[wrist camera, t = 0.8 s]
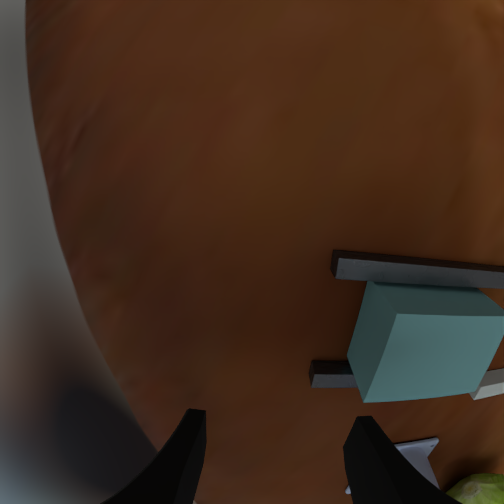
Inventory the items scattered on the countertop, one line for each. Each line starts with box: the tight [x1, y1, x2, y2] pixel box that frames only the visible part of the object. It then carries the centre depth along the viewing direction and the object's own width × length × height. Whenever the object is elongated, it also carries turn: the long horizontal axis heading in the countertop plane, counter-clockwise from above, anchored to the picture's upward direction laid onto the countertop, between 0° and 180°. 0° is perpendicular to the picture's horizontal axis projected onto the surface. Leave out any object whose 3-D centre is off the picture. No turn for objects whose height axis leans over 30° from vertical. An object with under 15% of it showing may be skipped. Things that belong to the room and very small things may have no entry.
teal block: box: [347, 281, 504, 403], centre depth 17 cm, size 6×9×5 cm, turn 84°
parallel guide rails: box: [309, 250, 504, 388], centre depth 19 cm, size 9×15×2 cm, turn 85°
